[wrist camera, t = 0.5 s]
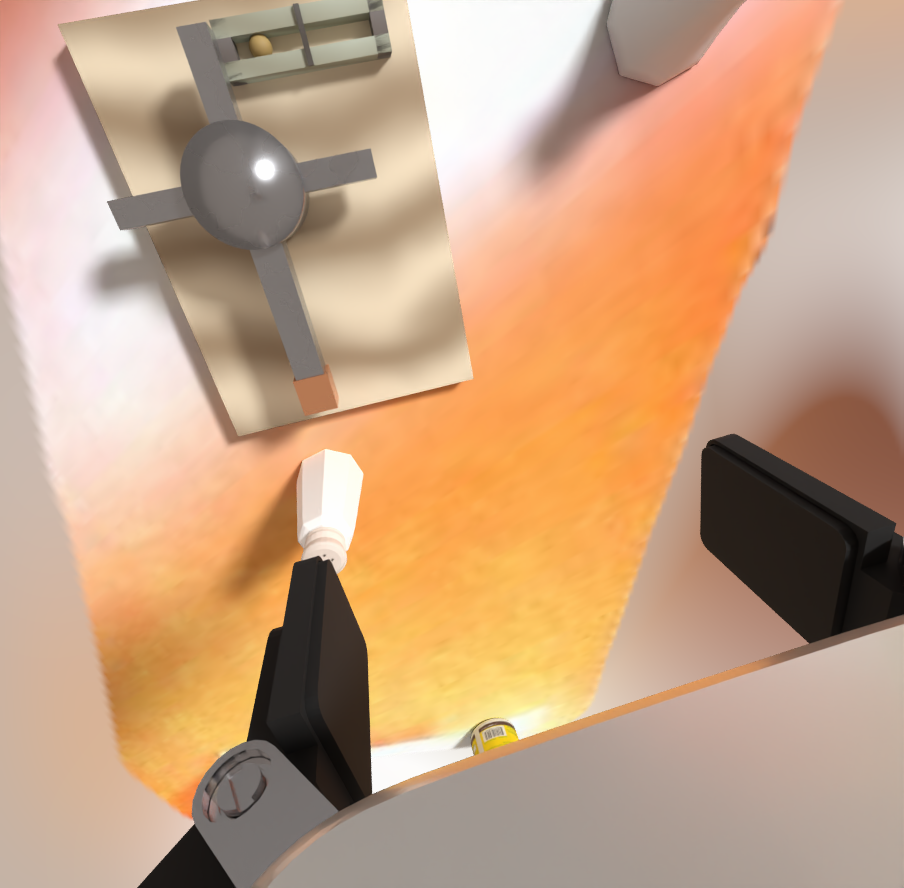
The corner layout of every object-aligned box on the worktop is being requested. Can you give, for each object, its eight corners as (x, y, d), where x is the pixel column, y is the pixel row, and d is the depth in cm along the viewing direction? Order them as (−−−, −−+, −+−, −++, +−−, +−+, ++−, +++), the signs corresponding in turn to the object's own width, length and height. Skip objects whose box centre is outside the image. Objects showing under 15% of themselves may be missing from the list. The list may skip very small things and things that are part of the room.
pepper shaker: (282, 483, 40) (260, 572, 30) (323, 435, 39) (313, 511, 29) (337, 515, 42) (333, 607, 32) (376, 471, 41) (385, 553, 31)
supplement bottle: (491, 752, 60) (517, 846, 51) (460, 738, 58) (481, 833, 49) (523, 724, 59) (555, 815, 50) (492, 708, 57) (520, 801, 48)
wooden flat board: (73, 34, 26) (42, 14, 24) (398, -22, 28) (403, -47, 25) (242, 427, 37) (234, 444, 35) (468, 372, 39) (477, 384, 36)
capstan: (75, 70, 25) (25, 45, 22) (338, 23, 27) (336, -9, 23) (227, 416, 35) (212, 442, 31) (418, 370, 36) (426, 389, 32)
